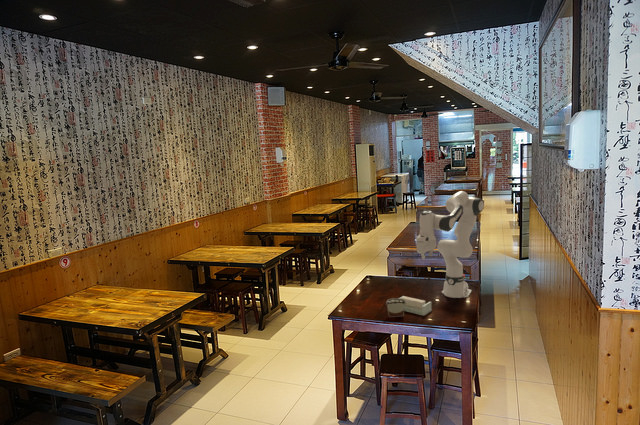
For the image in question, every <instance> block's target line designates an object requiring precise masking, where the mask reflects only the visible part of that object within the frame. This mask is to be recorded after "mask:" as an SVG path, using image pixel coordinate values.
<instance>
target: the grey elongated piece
mask: <svg viewBox="0 0 640 425" xmlns="http://www.w3.org/2000/svg"><path fill="white" fill-rule="evenodd" d="M404 296H405V295H402V296H401V297H398V298H399V299H402V298H403V297H404ZM404 312H408V313H411V314H416V315H419V316H426V315H428V314H429V313H431V312H432V301H428V302H425V305H423V306H422V310H420V309H415V308H411V307H407V306H405V307H404Z"/></svg>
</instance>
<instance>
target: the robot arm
mask: <svg viewBox="0 0 640 425" xmlns="http://www.w3.org/2000/svg"><path fill="white" fill-rule="evenodd" d="M484 207H485V202H484V200H483V199H482V198H479V197H474V196H469V194H468V193H467V192H466V191H463V190H460V191H457V192H456V193H454V194H453V195H451V196H450V197H449V198H448V199H446V201H445V209H446V210H447V211H448V213H450V214H448V215H444V214H443V215H442V214H436V213H434V212H433V211H432V210H423V211H421V213H420V214H419V233H418V235H417V237H416V238H415V241H416V252H417V253H418V254H420V256H421V259H422V260H425V259H426V256H425V254H426V253H427V252H429V253H428V257H432V256H433V252H434V249H436V248H437V251H438V252H439V253H440V254H441V256H442V257H443V259H444V261H445V267H446V268H445V270H446V272H445V281H444V282H443V290H441V293H442V294H443V295H444V296H445V297H448V298H451V299H452V298H453V299H457V298H458V299H461V298H468V297H469V296H470V295H471V293H472V289H469V284H468V283H467V282H466V281H465V278H466V274H464V268H463V267H464V266H463V263H462V262H461V261H460V260H459V259H458V258H461V259H463V258H465V259H466V258H470V257H471V256H472V255H473V251H474V249H473V248H474V247H473V246H472V244H471V242H470V239H471V238H470V237H471V235H472V233H473V229H474V227H475V225H476V222H477V217H478V215H480V214H481V213H482V212H483V210H484V209H485V208H484ZM456 222H457V224H456ZM455 224H456V226H455ZM453 229H454V230H453ZM435 230H437V231H443V232H450V231H452V230H453V232H454V235H455V236H456V238H457V239H455V240H454V239H440V240H439V241H438V243H437V237H436V236H435Z"/></svg>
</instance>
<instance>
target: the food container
mask: <svg viewBox="0 0 640 425" xmlns="http://www.w3.org/2000/svg"><path fill="white" fill-rule="evenodd" d="M399 298H400V297H398V298H397V297H396V298H395V297H392V298H389V299H387V300H386V302H385V305H386V306H387V315H388V318H396V317H397V318H398V317H400V318H401V317H404V315H405V311H404V307H405V304H406V302H405V300H403V299H399Z"/></svg>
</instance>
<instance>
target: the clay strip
mask: <svg viewBox="0 0 640 425" xmlns="http://www.w3.org/2000/svg"><path fill="white" fill-rule="evenodd" d="M403 296H404V297H403V298H402V299H403V300H405V302H406V304H405V306H407V307H411V308H415V309H420V310H422V306H423V305H425V304H426V300H424V299H419V298H414V297H409V296H405V295H403Z"/></svg>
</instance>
